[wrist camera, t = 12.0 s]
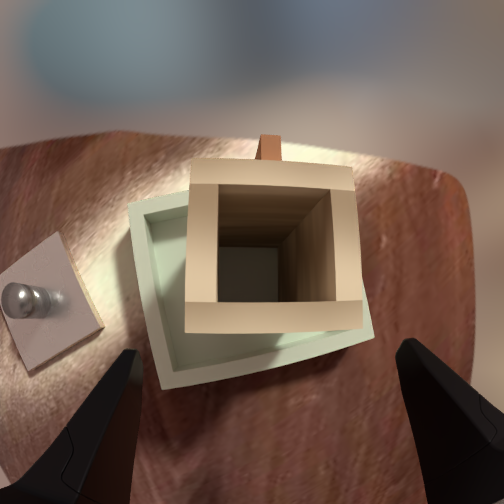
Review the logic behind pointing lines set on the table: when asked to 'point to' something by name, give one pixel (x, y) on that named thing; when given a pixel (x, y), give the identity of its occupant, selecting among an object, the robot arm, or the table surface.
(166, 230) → the green tray
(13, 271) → the stand
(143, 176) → the table surface
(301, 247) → the birch sleeve
